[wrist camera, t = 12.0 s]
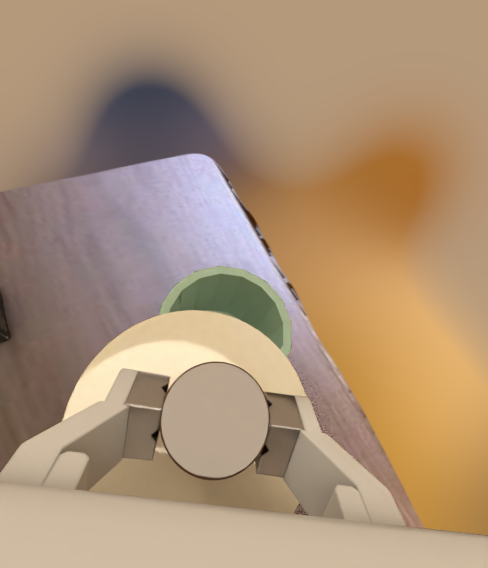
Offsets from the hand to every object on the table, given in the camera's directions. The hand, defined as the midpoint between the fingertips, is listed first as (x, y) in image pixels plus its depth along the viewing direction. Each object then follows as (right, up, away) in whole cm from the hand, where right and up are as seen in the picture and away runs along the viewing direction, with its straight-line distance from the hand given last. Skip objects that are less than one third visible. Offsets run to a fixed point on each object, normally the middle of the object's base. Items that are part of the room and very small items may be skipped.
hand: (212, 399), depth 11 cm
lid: (-2, -4, +7) cm, 8 cm away
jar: (-3, -4, +28) cm, 28 cm away
